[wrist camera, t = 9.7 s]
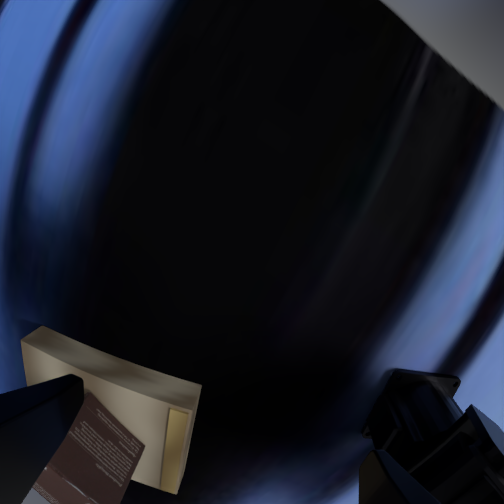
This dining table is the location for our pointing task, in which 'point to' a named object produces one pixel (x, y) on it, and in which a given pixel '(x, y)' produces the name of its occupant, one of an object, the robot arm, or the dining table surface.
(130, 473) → the box
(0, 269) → the dining table surface
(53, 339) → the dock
